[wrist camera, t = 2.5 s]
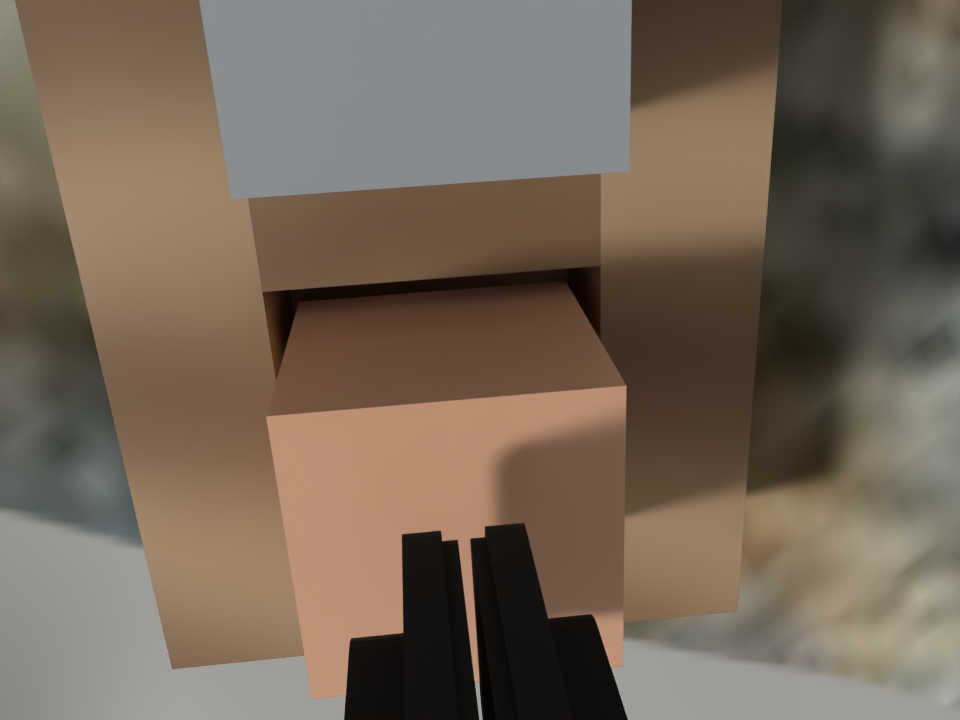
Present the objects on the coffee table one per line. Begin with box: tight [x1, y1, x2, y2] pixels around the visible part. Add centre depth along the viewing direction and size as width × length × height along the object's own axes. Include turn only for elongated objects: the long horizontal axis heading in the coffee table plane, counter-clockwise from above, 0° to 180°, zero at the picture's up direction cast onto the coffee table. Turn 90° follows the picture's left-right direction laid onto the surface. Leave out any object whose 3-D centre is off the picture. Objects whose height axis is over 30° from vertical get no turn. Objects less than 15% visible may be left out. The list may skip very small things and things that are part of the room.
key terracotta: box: [266, 281, 626, 699], centre depth 16 cm, size 5×5×5 cm
